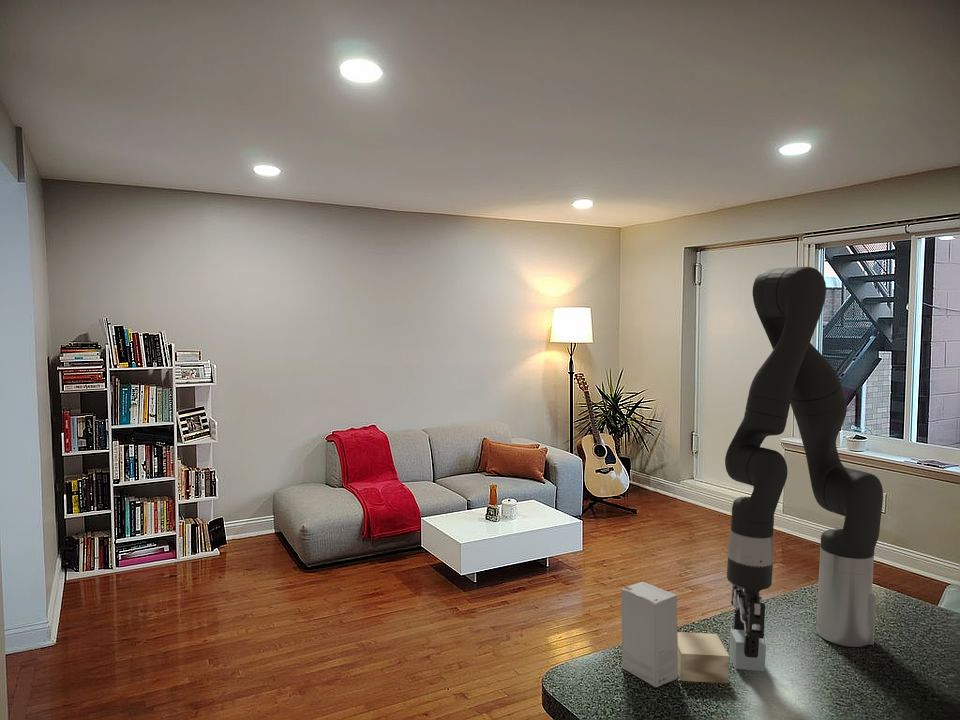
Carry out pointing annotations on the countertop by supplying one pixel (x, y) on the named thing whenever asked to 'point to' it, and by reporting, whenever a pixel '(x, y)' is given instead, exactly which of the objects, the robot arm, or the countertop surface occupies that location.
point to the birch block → (702, 658)
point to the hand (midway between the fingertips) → (745, 644)
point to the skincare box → (649, 633)
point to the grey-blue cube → (739, 657)
